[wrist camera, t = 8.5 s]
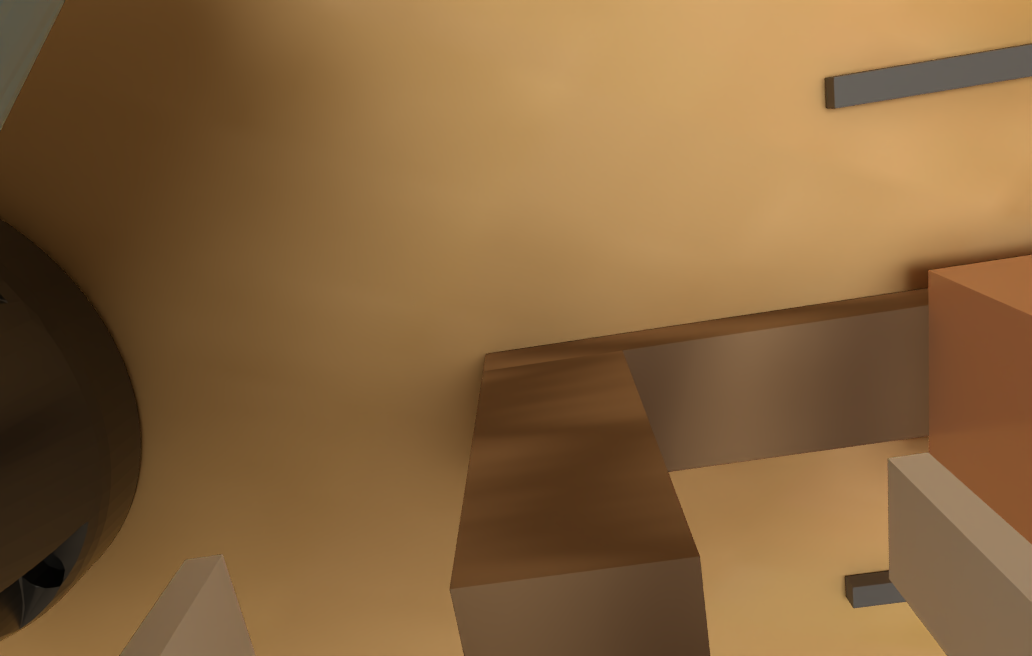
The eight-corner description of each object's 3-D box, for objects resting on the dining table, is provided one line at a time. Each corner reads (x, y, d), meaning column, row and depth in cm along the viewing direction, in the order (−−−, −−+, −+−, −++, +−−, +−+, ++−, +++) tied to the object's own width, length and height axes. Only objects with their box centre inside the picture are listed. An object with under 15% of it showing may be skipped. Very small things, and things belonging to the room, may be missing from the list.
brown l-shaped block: (507, 470, 24) (491, 781, 13) (486, 353, 23) (449, 588, 12) (1154, 379, 23) (1725, 639, 12) (1166, 252, 22) (1809, 411, 11)
